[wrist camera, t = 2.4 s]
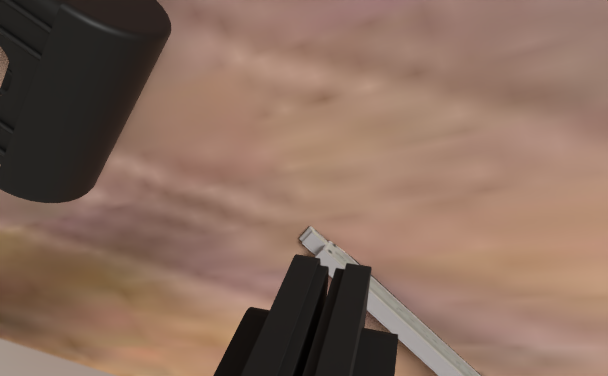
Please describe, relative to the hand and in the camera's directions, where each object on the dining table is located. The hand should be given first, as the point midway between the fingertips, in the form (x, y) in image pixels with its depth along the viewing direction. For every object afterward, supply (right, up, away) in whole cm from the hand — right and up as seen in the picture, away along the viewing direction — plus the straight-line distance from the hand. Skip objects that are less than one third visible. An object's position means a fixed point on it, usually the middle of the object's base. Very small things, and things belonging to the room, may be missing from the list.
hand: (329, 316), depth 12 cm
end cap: (-11, +10, +17) cm, 22 cm away
